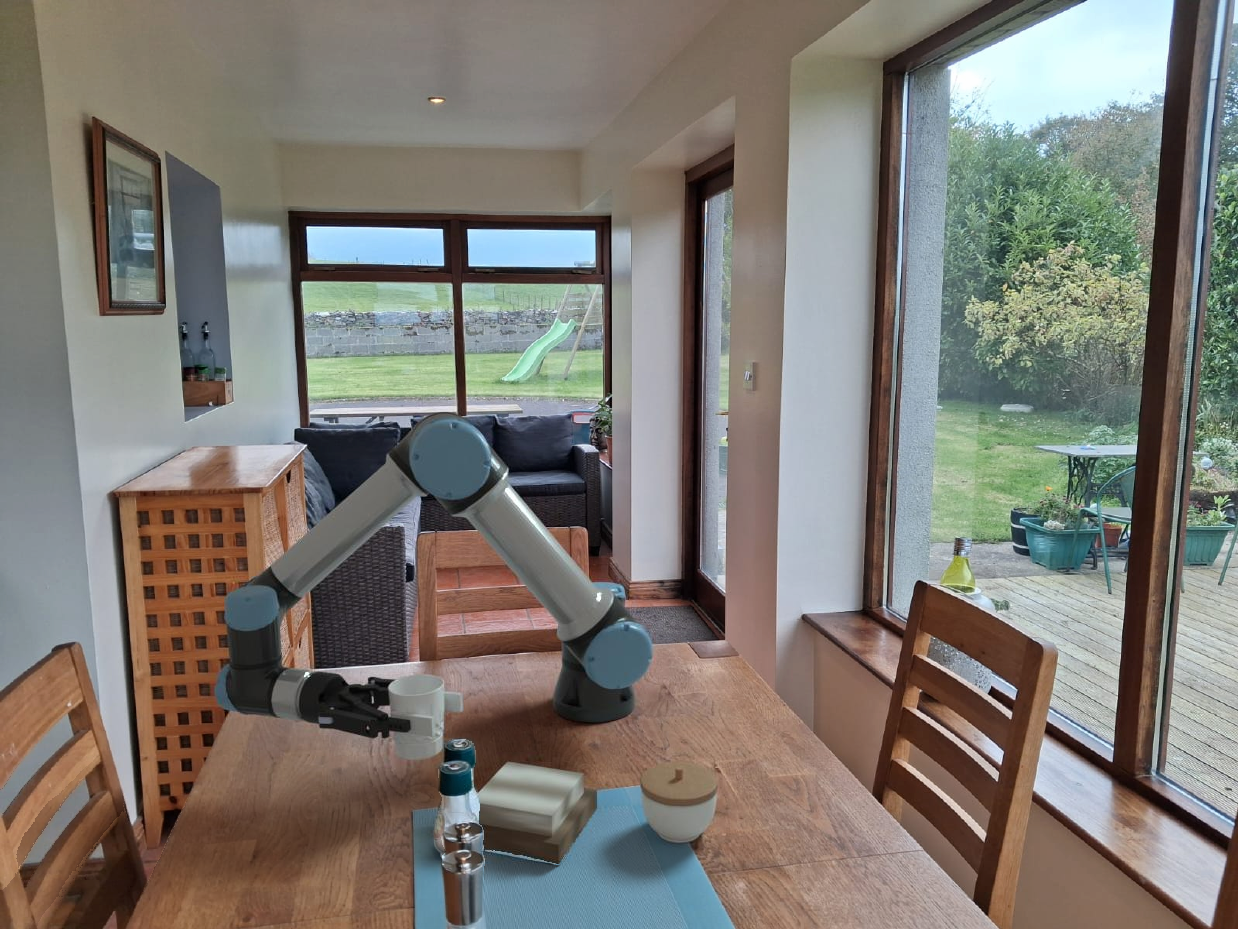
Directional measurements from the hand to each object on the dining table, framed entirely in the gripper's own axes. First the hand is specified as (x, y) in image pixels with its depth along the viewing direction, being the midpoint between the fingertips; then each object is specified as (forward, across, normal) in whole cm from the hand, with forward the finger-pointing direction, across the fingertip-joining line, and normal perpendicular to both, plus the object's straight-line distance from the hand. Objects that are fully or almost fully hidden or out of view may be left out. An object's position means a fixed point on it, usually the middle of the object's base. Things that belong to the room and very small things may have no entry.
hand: (447, 714), depth 131 cm
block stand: (+12, 0, -15) cm, 20 cm away
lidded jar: (+32, -5, -16) cm, 36 cm away
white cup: (-5, 0, -6) cm, 8 cm away
